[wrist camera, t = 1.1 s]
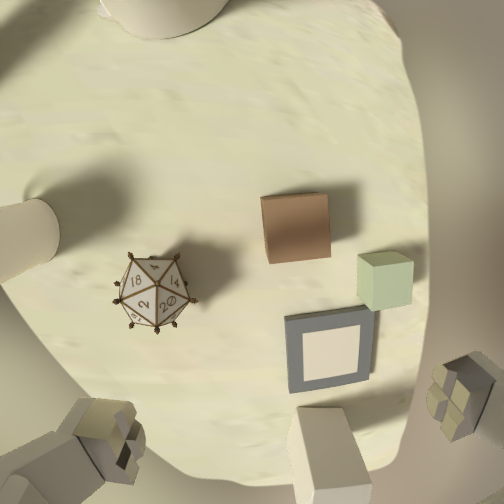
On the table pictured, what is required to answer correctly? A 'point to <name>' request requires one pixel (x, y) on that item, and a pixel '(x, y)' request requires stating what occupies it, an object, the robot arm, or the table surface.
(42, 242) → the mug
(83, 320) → the table surface
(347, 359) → the board
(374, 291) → the sage cube
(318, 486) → the milk carton
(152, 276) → the game die
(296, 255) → the walnut block
